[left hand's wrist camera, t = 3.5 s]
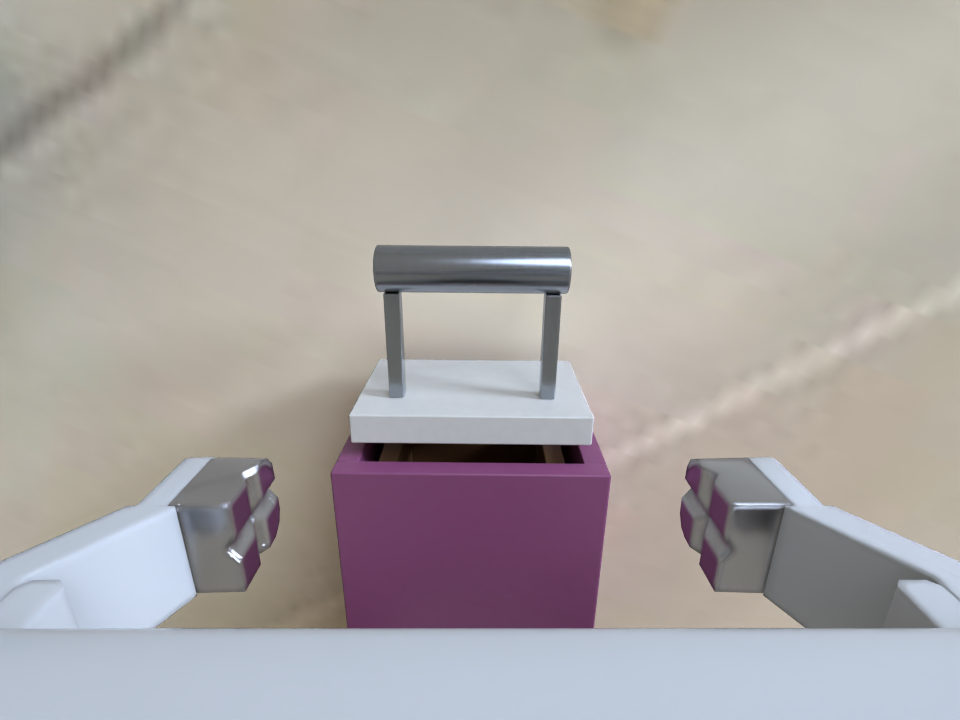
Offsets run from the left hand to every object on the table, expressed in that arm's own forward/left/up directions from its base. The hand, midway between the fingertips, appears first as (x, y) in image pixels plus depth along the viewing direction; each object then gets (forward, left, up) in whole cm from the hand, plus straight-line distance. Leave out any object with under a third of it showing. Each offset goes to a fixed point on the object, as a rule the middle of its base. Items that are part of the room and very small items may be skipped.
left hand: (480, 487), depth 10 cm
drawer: (+7, +2, -14) cm, 16 cm away
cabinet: (+12, +3, -15) cm, 20 cm away
